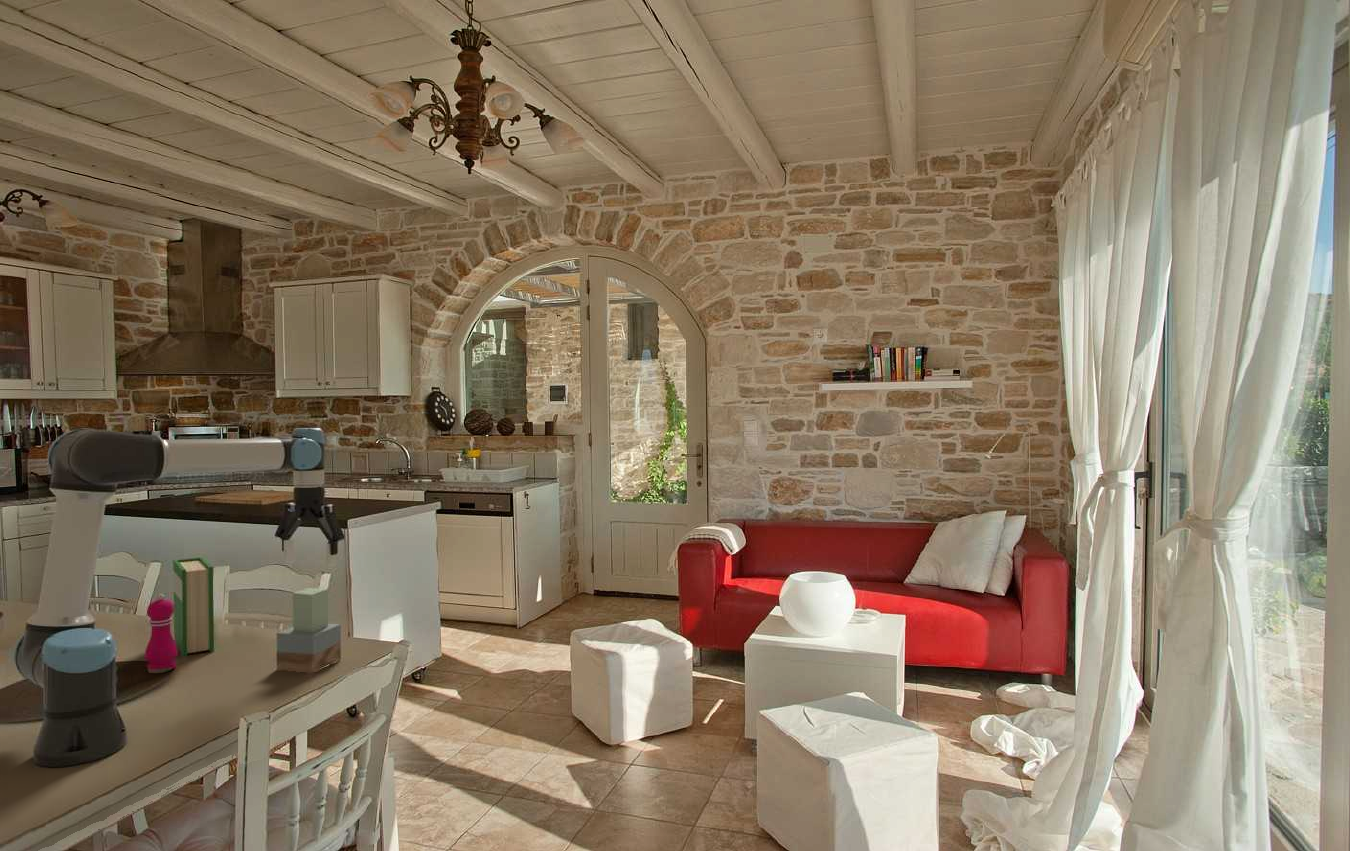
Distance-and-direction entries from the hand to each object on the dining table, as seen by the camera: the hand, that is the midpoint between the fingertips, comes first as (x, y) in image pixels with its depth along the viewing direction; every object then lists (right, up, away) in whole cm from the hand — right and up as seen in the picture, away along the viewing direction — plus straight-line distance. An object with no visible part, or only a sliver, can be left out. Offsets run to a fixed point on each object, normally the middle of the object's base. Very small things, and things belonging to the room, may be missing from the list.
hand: (309, 565), depth 212 cm
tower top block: (0, -22, +1) cm, 22 cm away
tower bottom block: (0, -27, 0) cm, 27 cm away
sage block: (0, -17, +1) cm, 17 cm away
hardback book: (-40, -26, +16) cm, 51 cm away
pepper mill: (-37, -27, -4) cm, 46 cm away
